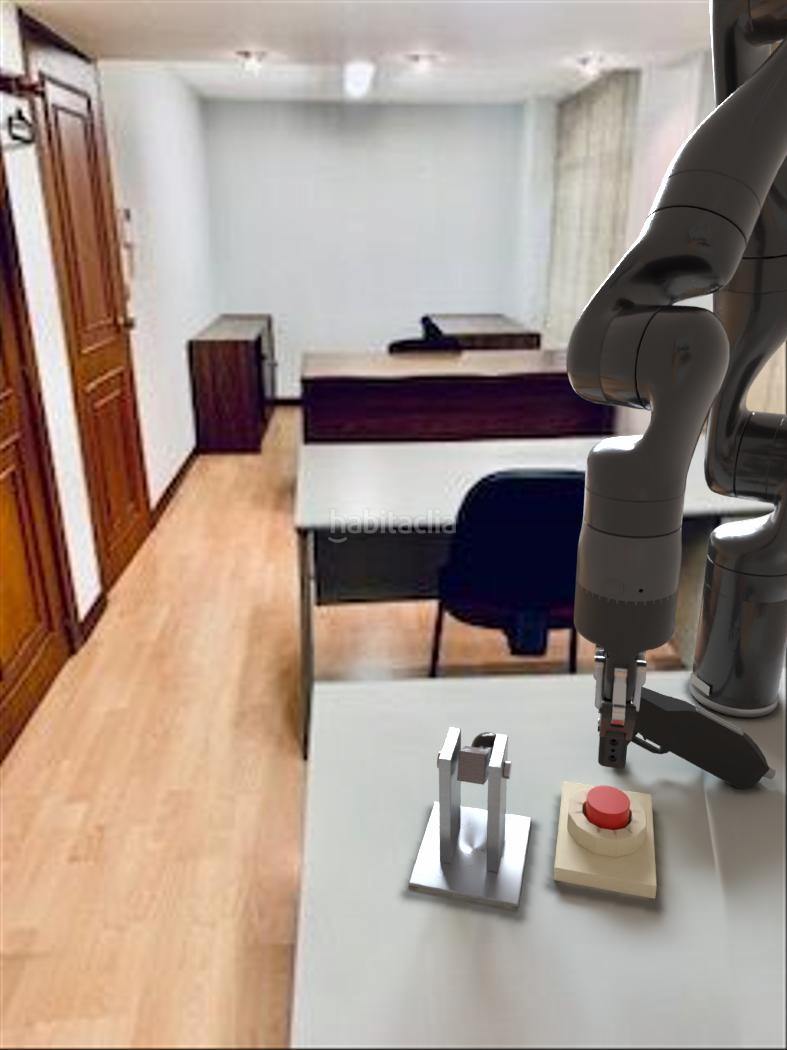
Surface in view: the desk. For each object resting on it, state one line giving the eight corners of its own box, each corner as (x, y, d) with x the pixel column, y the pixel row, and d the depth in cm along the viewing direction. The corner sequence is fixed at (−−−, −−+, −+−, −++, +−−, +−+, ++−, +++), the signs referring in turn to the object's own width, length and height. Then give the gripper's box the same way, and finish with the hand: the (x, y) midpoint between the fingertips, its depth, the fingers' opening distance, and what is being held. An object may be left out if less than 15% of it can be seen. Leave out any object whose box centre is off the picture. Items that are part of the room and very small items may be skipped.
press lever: (472, 761, 73) (475, 728, 74) (505, 767, 72) (508, 732, 73) (450, 784, 62) (453, 744, 62) (489, 791, 61) (492, 750, 61)
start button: (586, 798, 68) (587, 782, 67) (628, 805, 67) (629, 788, 66) (584, 826, 65) (585, 810, 64) (628, 834, 64) (630, 817, 63)
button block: (561, 799, 73) (564, 765, 72) (649, 813, 71) (653, 778, 70) (553, 888, 63) (555, 850, 62) (654, 907, 61) (658, 868, 60)
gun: (729, 834, 76) (793, 766, 72) (585, 757, 76) (641, 684, 72) (723, 814, 78) (785, 747, 74) (584, 739, 78) (638, 668, 74)
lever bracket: (435, 811, 72) (433, 705, 68) (530, 827, 70) (535, 719, 66) (408, 893, 63) (405, 777, 59) (517, 915, 61) (522, 796, 57)
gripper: (685, 621, 51) (661, 825, 57) (673, 546, 63) (655, 721, 69) (571, 610, 53) (560, 808, 59) (580, 539, 65) (570, 711, 71)
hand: (611, 761), depth 64 cm, fingers closed
